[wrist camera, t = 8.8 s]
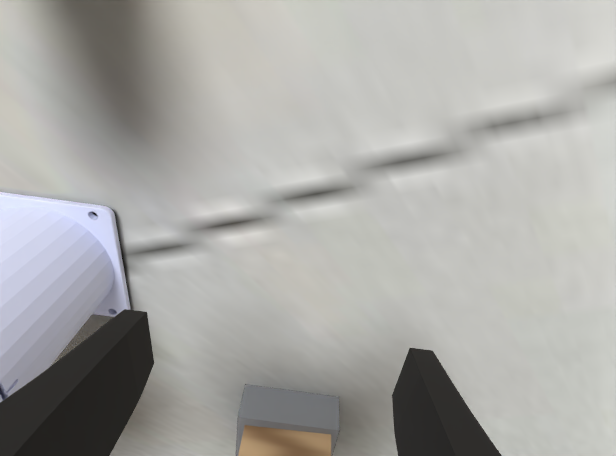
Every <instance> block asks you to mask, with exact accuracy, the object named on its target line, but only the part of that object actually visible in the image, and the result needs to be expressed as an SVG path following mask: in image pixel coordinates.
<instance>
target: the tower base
mask: <svg viewBox="0 0 616 456" xmlns="http://www.w3.org/2000/svg"><path fill="white" fill-rule="evenodd" d="M245 425H249V426H258V427H267V428H276V429H285V430H295V431H304V432H313V433H322V434H331V456H332V455H333V451H334V448H335V445H336V441H337V438H338V434H339V431H340V425H339V397H336V396H328V395H321V394H314V393H306V392H299V391H292V390H284V389H277V388H269V387H262V386H255V385H247V384H245V388H244V392H243V397H242V401H241V405H240V409H239V413H238V420H237V441H236V456H238V454H239V449H240V444H241V440H242V435H243V431H244V426H245Z"/></svg>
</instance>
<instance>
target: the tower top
mask: <svg viewBox="0 0 616 456" xmlns="http://www.w3.org/2000/svg"><path fill="white" fill-rule="evenodd" d="M238 456H331V434H322V433H313V432H304V431H295V430H285V429H276V428H267V427H258V426H249V425H245V426H244V431H243V435H242V440H241V444H240V449H239V454H238Z"/></svg>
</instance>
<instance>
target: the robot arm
mask: <svg viewBox="0 0 616 456" xmlns="http://www.w3.org/2000/svg"><path fill="white" fill-rule="evenodd" d="M92 211H93V212H95V213H96V214H97V215H98V216H95V215H94V214H93V212H92ZM92 314H95V315H103V316H111V317H114V318H112V319H111V320H110V321H109V322H107V323H106V324H105V325H103V326H102V327H101V328H100V329H98V330H97V331H96V332H95V333H93V334H92V335H91V336H90V337H88V338H87V339H86V340H84V341H83V342H82V343H81V344H79V345H78V346H77V347H76V348H74V349H73V350H72V351H70V352H69V353H68V354H66V355H65V356H64V357H62V358H61V359H60V360H58V361H57V362H56V363H55V364H53V365H52V363H53V362H54V361H55V360H56V358H57V357H58V356H59V355H60V354H61V352H62V351H63V350H64V349H65V347H66V346H67V345H68V344H69V342H70V341H71V340H72V339H73V337H74V336H75V335H76V334H77V332H78V331H79V330H80V329H81V327H82V326H83V325H84V324H85V322H86V321H87V320H88V319H89V318H90V316H91V315H92ZM153 364H154V360H153V353H152V346H151V339H150V332H149V325H148V318H147V312H141V311H134V310H131V308H130V302H129V296H128V291H127V285H126V279H125V273H124V267H123V261H122V255H121V249H120V243H119V237H118V232H117V226H116V220H115V215H114V212H113V211H112V210H111V209H110V208H109V207H106V206H102V205H94V204H87V203H79V202H72V201H64V200H56V199H49V198H41V197H34V196H26V195H19V194H11V193H4V192H0V456H109V455H110V453H111V451H112V450H113V448H114V446H115V444H116V442H117V440H118V439H119V437H120V435H121V433H122V431H123V429H124V427H125V426H126V424H127V422H128V420H129V418H130V416H131V414H132V413H133V411H134V409H135V407H136V405H137V403H138V401H139V399H140V397H141V394H142V392H143V389H144V387H145V385H146V382H147V380H148V377H149V374H150V372H151V369H152V367H153ZM51 365H52V366H51ZM50 366H51V367H50ZM392 398H393V417H394V430H395V439H396V445H397V451H398V456H501V454H500V453H499V451H498V450H497V449H496V447H495V446H494V444H493V443H492V442H491V440H490V439H489V437H488V436H487V434H486V433H485V431H484V430H483V428H482V427H481V426H480V424H479V423H478V421H477V420H476V418H475V417H474V415H473V414H472V412H471V411H470V409H469V408H468V406H467V405H466V403H465V402H464V400H463V398H462V397H461V395H460V394H459V392H458V391H457V389H456V387H455V386H454V384H453V383H452V381H451V380H450V378H449V376H448V375H447V373H446V371H445V370H444V368H443V367H442V365H441V363H440V362H439V360H438V359H437V357H436V355H435V354H434V352H433V351H430V350H423V349H415V348H410V349H409V352H408V354H407V357H406V360H405V362H404V365H403V368H402V371H401V373H400V376H399V379H398V381H397V384H396V387H395V389H394V392H393V395H392Z"/></svg>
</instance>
